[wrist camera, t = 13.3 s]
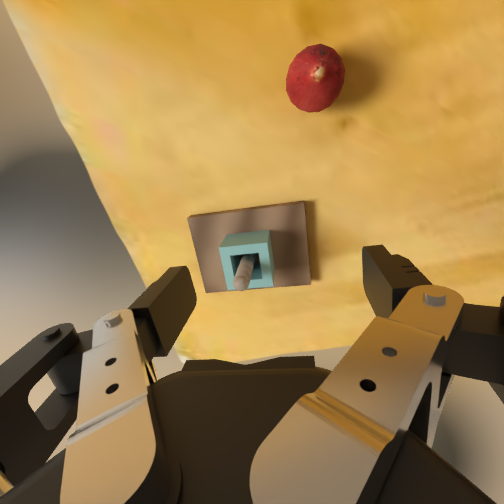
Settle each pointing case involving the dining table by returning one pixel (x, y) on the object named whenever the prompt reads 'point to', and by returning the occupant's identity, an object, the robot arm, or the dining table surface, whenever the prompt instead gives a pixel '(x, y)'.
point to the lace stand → (283, 248)
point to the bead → (247, 245)
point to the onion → (315, 78)
